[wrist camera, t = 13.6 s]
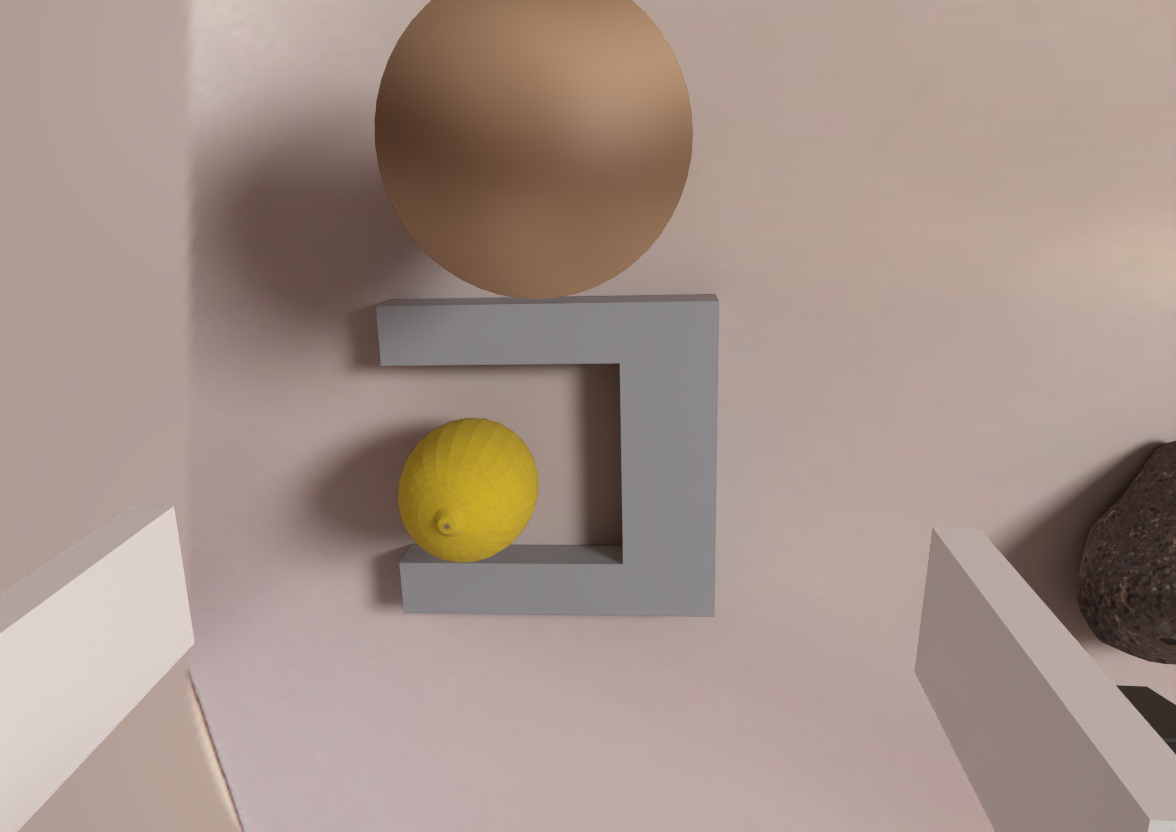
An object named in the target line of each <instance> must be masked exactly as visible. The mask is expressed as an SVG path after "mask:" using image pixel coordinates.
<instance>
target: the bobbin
mask: <svg viewBox="0 0 1176 832" xmlns="http://www.w3.org/2000/svg"><path fill="white" fill-rule="evenodd" d="M692 138H693V130H692V112H691V107H690V101H689V96H688V90H687V87H686V84H685V81H684V78H683V75H682V71H681V68H680V66H679V64H678V62H677V60H676V58H675V55H674V53H673V51H672V49H671V47H670V46H669V44H668V42H667V41H666V39H665V38H664V36H663V35H662V33H661V32H660V30H659V28H658V27H657V26H656V25H655V24H654V23H653V21H652V20H651V19H650V18H649V17H648V15H647V14H646V13H645V12H644V11H643V10H642V9H641V8H640V7H639V6H638V5H636V4H635V3H634V2H633V1H632V0H432V1H430V2H429V3H428V4H427V5H426V6H425V7H424V8H423V9H422V10H421V11H420V12H419V13H418V15H417V16H416V17H415V18H414V19H413V20H412V21H411V23H410V24H409V25H408V27H407V28H406V30H405V31H404V33H403V34H402V35H401V37H400V38H399V40H398V42H397V44H396V46H395V48H394V50H393V52H392V54H391V56H390V57H389V60H388V63H387V65H386V68H385V71H384V74H383V76H382V79H381V84H380V88H379V93H378V97H377V103H376V113H375V146H376V152H377V159H378V166H379V169H380V173H381V176H382V180H383V184H384V187H385V189H386V192H387V194H388V197H389V199H390V201H391V204H392V206H393V208H394V210H395V212H396V213H397V215H398V217H399V219H400V220H401V222H402V224H403V225H404V227H405V228H406V229H407V231H408V232H409V234H410V235H411V236H412V238H413V239H414V240H415V242H416V243H417V244H418V245H419V246H420V247H421V248H422V249H423V250H424V251H425V252H426V253H427V254H428V255H429V256H430V257H431V258H432V259H433V260H435V261H436V262H437V263H438V264H439V265H441V266H442V267H443V268H444V269H446V270H447V271H449V272H450V273H452V274H453V275H455V276H457V277H458V278H460V279H461V280H463V281H465V282H468V283H470V284H472V285H474V286H476V287H478V288H480V289H484V290H487V291H490V292H493V293H496V294H499V295H505V296H510V297H516V298H528V299H545V298H557V297H562V296H567V295H572V294H576V293H579V292H582V291H585V290H588V289H591V288H593V287H596V286H598V285H600V284H602V283H604V282H606V281H608V280H610V279H612V278H613V277H615V276H617V275H618V274H619V273H621V272H622V271H624V270H625V269H627V268H628V267H629V266H631V265H632V264H633V263H634V262H635V261H636V260H637V259H639V258H640V257H641V256H642V255H643V254H644V253H645V252H646V251H647V250H648V249H649V248H650V246H651V245H652V244H653V243H654V242H655V240H656V239H657V238H658V237H659V236H660V234H661V233H662V231H663V229H664V228H665V226H666V225H667V223H668V222H669V220H670V219H671V217H672V215H673V213H674V210H675V208H676V206H677V204H678V202H679V200H680V198H681V195H682V192H683V189H684V186H685V183H686V180H687V175H688V170H689V165H690V160H691V152H692Z"/></svg>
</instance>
